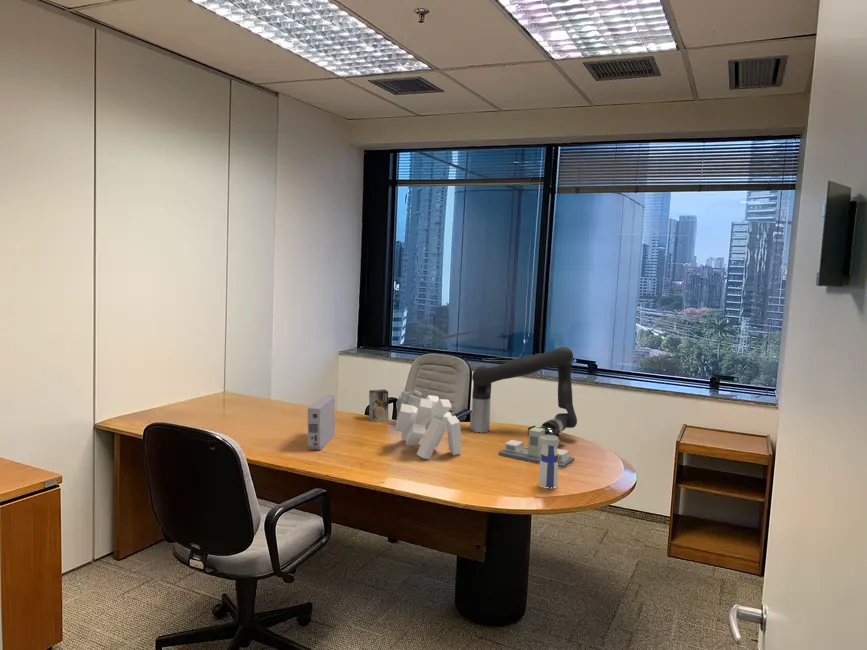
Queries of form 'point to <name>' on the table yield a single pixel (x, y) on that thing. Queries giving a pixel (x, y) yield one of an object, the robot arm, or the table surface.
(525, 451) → the mounting plate
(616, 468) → the table surface
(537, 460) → the grey board
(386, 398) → the coffee box
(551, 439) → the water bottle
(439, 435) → the white angular blocks
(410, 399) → the twin engine backpack
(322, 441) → the game console
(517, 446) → the rectangular blocks
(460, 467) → the table surface
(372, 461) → the table surface
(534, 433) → the tall block
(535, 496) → the table surface
